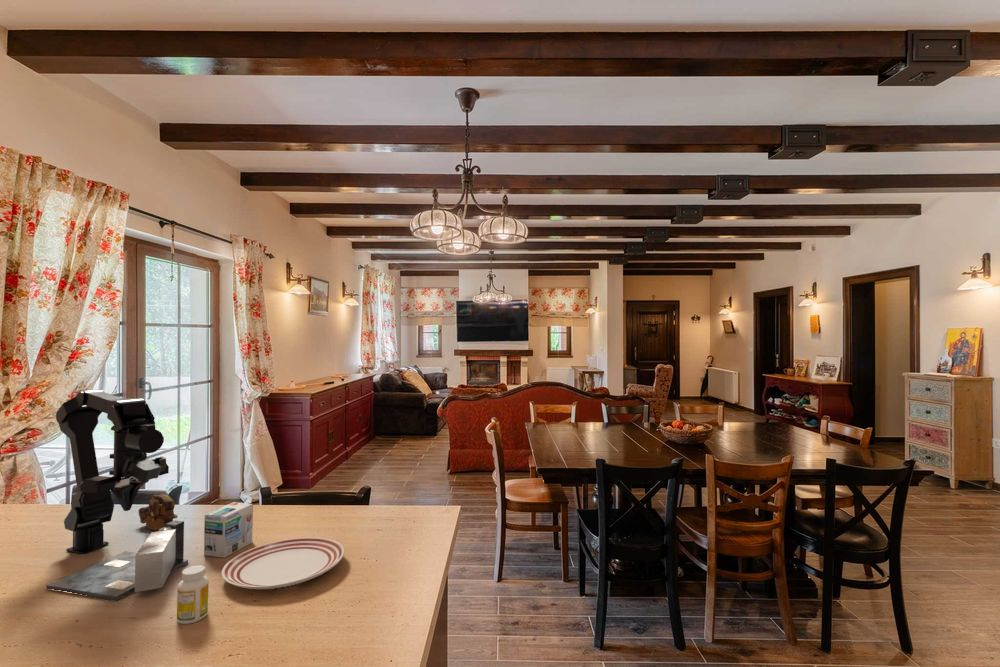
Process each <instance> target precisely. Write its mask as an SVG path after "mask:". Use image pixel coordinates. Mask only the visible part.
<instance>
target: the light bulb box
mask: <svg viewBox="0 0 1000 667" xmlns="http://www.w3.org/2000/svg"><path fill="white" fill-rule="evenodd" d="M253 519H254V504H253V503H246V502H245V503H244V502H235V501H233V502H231V503H228V504H226V505H224V506H222V507H219V508H217V509H214V510H213V511H210V512H208V513H206V514H204V531H203V534H204V536H203V538H204V539H203V556H209V557H216V558H223V559H225V558H227V557H228V556H231V555H232V554H233V553H235V552H237V551H239V550H241V549H242V548H245V547H246V546H249V545H250V544H252V543H253V529H254V528H253V524H254V523H253V522H254V521H253Z"/></svg>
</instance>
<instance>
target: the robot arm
mask: <svg viewBox="0 0 1000 667" xmlns="http://www.w3.org/2000/svg"><path fill="white" fill-rule="evenodd" d="M102 413H104V414H106V415H107V416H106V419H107V420H109V421H111V423H112V424H113V425H112V426H111V427H110V430H111V431H112V432H113V453H110V454H109V459H113V468H112V470H109V473H108V475H110V476H107V475H106V476H103V475H100V474H99V467H98V462H97V454H96V453H97V452H96V448H95V441H94V434H93V433H94V431H95V429H96V428H97V426H98V424H99V417H100V416H101V414H102ZM55 420H56V422H57V424H58V426H59V430H60V431H61V433H63V434H64V435H65V436H66V437H67V438H68V439H69V442H70V450H71V456H72V457H71V458H72V462H73V468H74V476H75V482H76V483H75V484H76V490H77V491H76V493H75V495H74V496H73V498H72V500H71V503H70V506H71V507H70V511H69V512H68V513H67V515H66V517H65V519H64V520H63V524H64V525H63V526H64V529H65V530H68V531H71V532H72V546H71V547H69V548H66V550H65V551H66V552H69V551H70V552H71V553H76V552H77V554H88V553H89V552H92V551H94V550H97V549H100V548H102V547H104V546H107V545H109V544H110V543H109V541H104V539H105V538H104V537H105V536H104V534H105V533H104V532H105V530H104V523H107V522H108V523H109V522H111V520H112V518H113V512H114V508H115V504H114V501H113V498H112V494H113V495H114V497H115V499H116V500H117V502H118V503H119V505H120V507H121V508H122V510H123V511H124V512H128V511H130V510H131V509H132V506H133V504H134V502H135V499H136V497H137V494H138V492H139V490H140V488H141V487H142V486H144V485H145V484H146V483H148V482H149V481H150V480H152V479H158V478H159V477H160V476H164V475H166V474H169V473H170V472H169V468H170V467H169V465H168V464H167V458H166V457H164V456H163V455H162V456H159V457H155V458H151V459H150V458H148V454H153V453H156V452H157V451H159V450H160V449H161V448H162V446H163V444H164V441H165V437H164V435H163V433H162V432H161V431H159V430H157V429H156V422H155V416H154V414H153V412H152V410H151V409H150V406H149V404H148V403H147V401H146V400H145V399H144V398H138V397H137V398H135V397H133V398H122V397H120V396H116V395H114V394H111V393H107V392H104V390H102V389H101V390H100V389H88V390H82V391H78V393H77V394H76V395H75V396H74V397H72V398H70V399H69V400H67V401H64V402H63V403H62V404H61V406H60V407H59V408H58V410H57V411H56V413H55ZM70 552H69V553H70Z"/></svg>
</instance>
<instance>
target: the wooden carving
mask: <svg viewBox="0 0 1000 667" xmlns="http://www.w3.org/2000/svg"><path fill="white" fill-rule="evenodd" d="M175 502H176V501H175V500H174V499H173V498H171V497H170V495H168V494H166V493H165V494H164V493H162V494H154V495H153V494H152V495H150V496H149V499H148V502H147V503H148V505H147V506H144V507H140V508H139V509H138V517H139V519H140V520H139V522H140V523H141V524H145V525H146V527H147V528H148V529H149V530H150V531H151V530H152V531H159V529H160V528H163V527H166V524H167V523H169V522H172V521H174V519H178V515H177V514H175V512H174V509H175V506H176V505H175V504H176V503H175Z"/></svg>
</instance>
